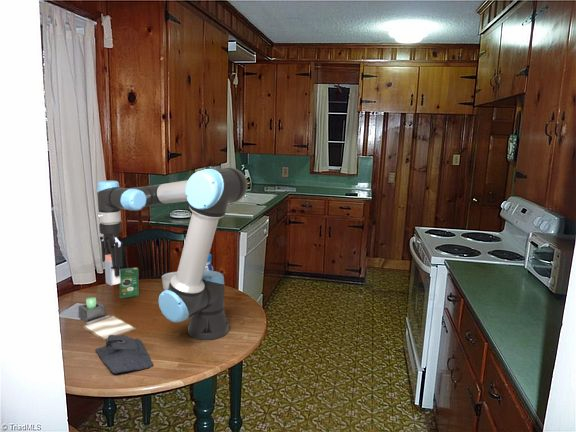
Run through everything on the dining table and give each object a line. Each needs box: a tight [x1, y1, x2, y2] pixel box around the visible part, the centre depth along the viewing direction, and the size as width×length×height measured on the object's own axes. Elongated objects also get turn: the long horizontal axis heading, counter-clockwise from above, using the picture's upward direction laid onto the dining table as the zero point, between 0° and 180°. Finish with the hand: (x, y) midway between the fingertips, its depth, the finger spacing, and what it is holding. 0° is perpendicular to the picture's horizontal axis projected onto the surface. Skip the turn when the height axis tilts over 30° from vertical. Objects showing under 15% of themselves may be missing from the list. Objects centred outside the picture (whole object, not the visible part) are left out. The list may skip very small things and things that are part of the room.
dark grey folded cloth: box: [95, 334, 155, 375], centre depth 141 cm, size 15×22×5 cm
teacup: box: [161, 270, 178, 291], centre depth 201 cm, size 14×11×8 cm
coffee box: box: [118, 267, 140, 299], centre depth 191 cm, size 8×3×13 cm, turn 119°
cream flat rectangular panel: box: [80, 314, 138, 342], centre depth 161 cm, size 17×13×1 cm
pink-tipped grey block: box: [104, 254, 121, 286], centre depth 162 cm, size 4×4×11 cm
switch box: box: [78, 301, 106, 323], centre depth 169 cm, size 7×7×5 cm
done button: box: [85, 296, 97, 309], centre depth 169 cm, size 4×4×5 cm
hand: (113, 282), depth 163 cm, fingers closed on pink-tipped grey block, 4 cm apart
